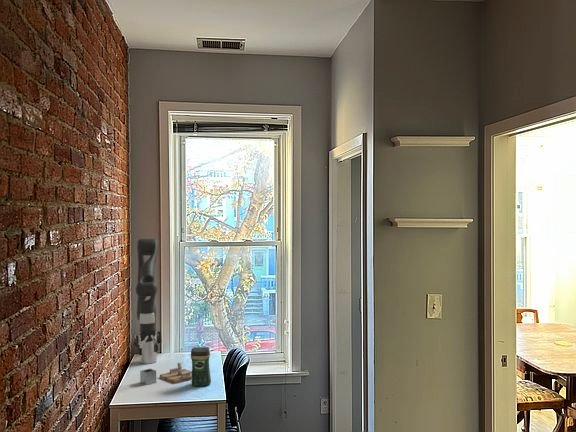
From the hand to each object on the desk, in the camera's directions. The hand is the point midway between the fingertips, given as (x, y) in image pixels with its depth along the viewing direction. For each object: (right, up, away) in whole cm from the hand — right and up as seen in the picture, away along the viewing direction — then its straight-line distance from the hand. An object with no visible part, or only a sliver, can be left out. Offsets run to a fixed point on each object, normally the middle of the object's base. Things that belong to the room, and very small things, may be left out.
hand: (147, 353), depth 287 cm
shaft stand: (+15, -14, +8) cm, 22 cm away
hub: (0, -15, 0) cm, 15 cm away
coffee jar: (+28, -15, -4) cm, 31 cm away
